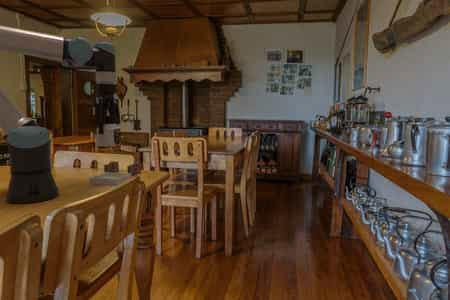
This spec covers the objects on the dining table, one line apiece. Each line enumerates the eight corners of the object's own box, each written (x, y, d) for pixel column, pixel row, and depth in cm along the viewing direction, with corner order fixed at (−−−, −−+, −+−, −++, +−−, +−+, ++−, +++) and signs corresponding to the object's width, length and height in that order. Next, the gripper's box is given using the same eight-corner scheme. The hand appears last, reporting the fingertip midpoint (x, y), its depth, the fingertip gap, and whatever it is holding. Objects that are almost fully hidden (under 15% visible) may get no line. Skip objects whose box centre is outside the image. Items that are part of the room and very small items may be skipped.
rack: (130, 177, 140) (130, 166, 140) (104, 176, 143) (103, 165, 142) (141, 172, 150) (140, 162, 149) (116, 171, 153) (116, 161, 152)
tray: (116, 185, 126) (116, 179, 126) (88, 183, 128) (88, 178, 128) (131, 178, 138) (131, 173, 137) (105, 177, 140) (105, 172, 140)
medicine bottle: (114, 146, 127) (113, 115, 126) (96, 146, 128) (95, 115, 126) (121, 144, 135) (119, 115, 133) (104, 144, 135) (102, 115, 133)
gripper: (99, 81, 117) (102, 144, 120) (128, 85, 137) (130, 139, 140) (81, 81, 119) (84, 143, 122) (111, 85, 139) (114, 138, 142)
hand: (109, 141), depth 131 cm, fingers closed on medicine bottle, 8 cm apart
